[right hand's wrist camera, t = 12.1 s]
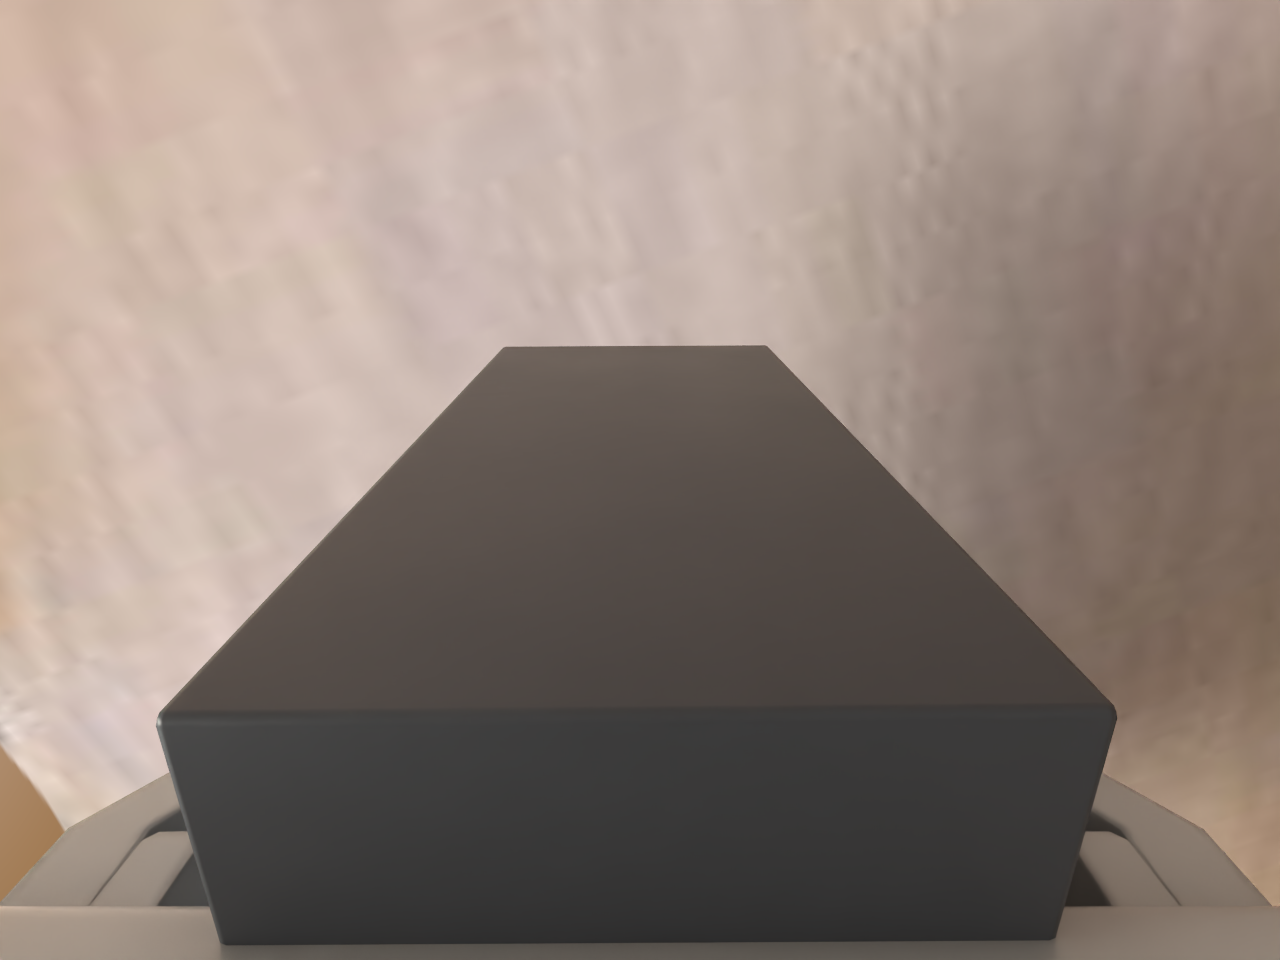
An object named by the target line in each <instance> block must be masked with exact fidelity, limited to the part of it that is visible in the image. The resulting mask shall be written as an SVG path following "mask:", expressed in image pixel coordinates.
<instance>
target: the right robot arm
mask: <svg viewBox="0 0 1280 960" xmlns="http://www.w3.org/2000/svg"><path fill="white" fill-rule="evenodd" d="M0 960H1280V906H1272V905H1271V904H1270V903H1269V902H1268V901H1267V900H1266V898H1265V897H1264V896H1263V895H1262V894H1261V893H1260V892H1259V891H1258V889H1257V888H1256V887H1255V886H1254V885H1253V884H1252V883H1251V882H1250V881H1249V879H1248V878H1247V877H1246V876H1245V875H1244V874H1243V873H1242V872H1241V871H1240V869H1239V868H1238V867H1237V866H1236V865H1235V864H1234V863H1233V862H1232V861H1231V859H1230V858H1229V857H1228V856H1227V855H1226V854H1225V853H1224V852H1223V851H1222V849H1221V848H1220V847H1219V846H1218V845H1217V844H1216V843H1215V842H1214V841H1213V839H1212V838H1211V837H1210V836H1209V835H1208V834H1207V833H1206V832H1205V830H1204V829H1202V828H1200V827H1198V826H1196V825H1195V824H1193V823H1191V822H1189V821H1188V820H1186V819H1184V818H1182V817H1180V816H1179V815H1177V814H1175V813H1173V812H1171V811H1170V810H1168V809H1166V808H1164V807H1163V806H1161V805H1159V804H1157V803H1155V802H1154V801H1152V800H1150V799H1148V798H1147V797H1145V796H1143V795H1141V794H1139V793H1138V792H1136V791H1134V790H1132V789H1130V788H1129V787H1127V786H1125V785H1123V784H1122V783H1120V782H1118V781H1116V780H1114V779H1113V778H1111V777H1109V776H1107V775H1105V774H1104V773H1102V774H1101V777H1100V781H1099V785H1098V788H1097V792H1096V795H1095V799H1094V802H1093V806H1092V810H1091V813H1090V817H1089V820H1088V824H1087V827H1086V831H1085V835H1084V838H1083V842H1082V845H1081V849H1080V852H1079V856H1078V860H1077V863H1076V867H1075V870H1074V874H1073V877H1072V881H1071V885H1070V888H1069V892H1068V895H1067V899H1066V902H1065V906H1064V909H1063V913H1062V917H1061V920H1060V924H1059V927H1058V931H1057V934H1056V938H1054V939H1052V940H1039V941H874V942H709V943H544V944H379V945H224V944H222V943H220V941H219V938H218V934H217V931H216V928H215V924H214V921H213V917H212V914H211V911H210V907H209V904H208V900H207V897H206V894H205V890H204V887H203V883H202V880H201V877H200V873H199V870H198V867H197V863H196V860H195V856H194V853H193V850H192V846H191V843H190V839H189V836H188V833H187V829H186V826H185V822H184V819H183V816H182V812H181V809H180V806H179V802H178V799H177V795H176V792H175V789H174V785H173V782H172V778H171V775H170V772H169V773H167V774H166V775H164V776H162V777H160V778H158V779H157V780H155V781H153V782H151V783H149V784H147V785H146V786H144V787H142V788H140V789H138V790H137V791H135V792H133V793H131V794H129V795H128V796H126V797H124V798H122V799H120V800H119V801H117V802H115V803H113V804H111V805H110V806H108V807H106V808H104V809H102V810H100V811H99V812H97V813H95V814H93V815H91V816H90V817H88V818H86V819H84V820H82V821H81V822H79V823H77V824H75V825H73V826H72V827H70V828H68V829H67V830H66V831H65V832H64V834H63V835H62V836H61V837H60V838H59V839H58V840H57V841H56V842H55V843H54V844H53V846H52V847H51V848H50V849H49V850H48V851H47V852H46V853H45V854H44V855H43V856H42V857H41V859H40V860H39V861H38V862H37V863H36V864H35V865H34V866H33V867H32V868H31V869H30V871H29V872H28V873H27V874H26V875H25V876H24V877H23V878H22V879H21V880H20V881H19V882H18V884H17V885H16V886H15V887H14V888H13V889H12V890H11V891H10V892H9V894H7V896H6V897H5V898H4V899H3V900H2V901H1V902H0Z"/></svg>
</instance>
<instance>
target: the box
mask: <svg viewBox="0 0 1280 960" xmlns="http://www.w3.org/2000/svg"><path fill="white" fill-rule="evenodd" d="M1116 720H1117V715H1116V710H1115V708H1114V705H1113V704H1112V703H1111V702H1110V701H1109V700H1108V699H1107V698H1106V697H1105V696H1104V695H1103V694H1102V693H1101V692H1100V691H1099V690H1098V689H1097V688H1096V687H1095V686H1094V684H1093V683H1092V682H1091V681H1090V680H1089V679H1088V678H1087V677H1086V676H1085V675H1084V674H1083V673H1082V672H1081V671H1080V670H1079V669H1078V668H1077V667H1076V666H1075V665H1074V664H1073V663H1072V662H1071V661H1070V660H1069V659H1068V658H1067V657H1066V655H1065V654H1064V653H1063V652H1062V651H1061V650H1060V649H1059V648H1058V647H1057V646H1056V645H1055V644H1054V643H1053V642H1052V641H1051V640H1050V639H1049V638H1048V637H1047V636H1046V635H1045V634H1044V633H1043V632H1042V631H1041V630H1040V629H1039V627H1038V626H1037V625H1036V624H1035V623H1034V622H1033V621H1032V620H1031V619H1030V618H1029V617H1028V616H1027V615H1026V614H1025V613H1024V612H1023V611H1022V610H1021V609H1020V608H1019V607H1018V606H1017V605H1016V604H1015V603H1014V602H1013V601H1012V600H1011V598H1010V597H1009V596H1008V595H1007V594H1006V593H1005V592H1004V591H1003V590H1002V589H1001V588H1000V587H999V586H998V585H997V584H996V583H995V582H994V581H993V580H992V579H991V578H990V577H989V576H988V575H987V574H986V573H985V572H984V570H983V569H982V568H981V567H980V566H979V565H978V564H977V563H976V562H975V561H974V560H973V559H972V558H971V557H970V556H969V555H968V554H967V553H966V552H965V551H964V550H963V549H962V548H961V547H960V546H959V545H958V544H957V543H956V541H955V540H954V539H953V538H952V537H951V536H950V535H949V534H948V533H947V532H946V531H945V530H944V529H943V528H942V527H941V526H940V525H939V524H938V523H937V522H936V521H935V520H934V519H933V518H932V517H931V516H930V515H929V513H928V512H927V511H926V510H925V509H924V508H923V507H922V506H921V505H920V504H919V503H918V502H917V501H916V500H915V499H914V498H913V497H912V496H911V495H910V494H909V493H908V492H907V491H906V490H905V489H904V488H903V487H902V486H901V484H900V483H899V482H898V481H897V480H896V479H895V478H894V477H893V476H892V475H891V474H890V473H889V472H888V471H887V470H886V469H885V468H884V467H883V466H882V465H881V464H880V463H879V462H878V461H877V460H876V459H875V458H874V456H873V455H872V454H871V453H870V452H869V451H868V450H867V449H866V448H865V447H864V446H863V445H862V444H861V443H860V442H859V441H858V440H857V439H856V438H855V437H854V436H853V435H852V434H851V433H850V432H849V431H848V430H847V429H846V427H845V426H844V425H843V424H842V423H841V422H840V421H839V420H838V419H837V418H836V417H835V416H834V415H833V414H832V413H831V412H830V411H829V410H828V409H827V408H826V407H825V406H824V405H823V404H822V403H821V402H820V401H819V400H818V398H817V397H816V396H815V395H814V394H813V393H812V392H811V391H810V390H809V389H808V388H807V387H806V386H805V385H804V384H803V383H802V382H801V381H800V380H799V379H798V378H797V377H796V376H795V375H794V374H793V373H792V372H791V370H790V369H789V368H788V367H787V366H786V365H785V364H784V363H783V362H782V361H781V360H780V359H779V358H778V357H777V356H776V355H775V354H774V353H773V352H772V351H771V350H770V349H769V348H768V347H767V346H580V347H504V348H503V349H502V350H501V351H500V352H499V353H498V354H497V355H496V356H495V357H494V358H493V359H492V360H491V361H490V362H489V363H488V365H487V366H486V367H485V368H484V369H483V370H482V371H481V372H480V373H479V374H478V375H477V376H476V377H475V378H474V379H473V380H472V382H471V383H470V384H469V385H468V386H467V387H466V388H465V389H464V390H463V391H462V392H461V393H460V394H459V395H458V396H457V397H456V399H455V400H454V401H453V402H452V403H451V404H450V405H449V406H448V407H447V408H446V409H445V410H444V411H443V412H442V413H441V414H440V416H439V417H438V418H437V419H436V420H435V421H434V422H433V423H432V424H431V425H430V426H429V427H428V428H427V429H426V430H425V431H424V432H423V434H422V435H421V436H420V437H419V438H418V439H417V440H416V441H415V442H414V443H413V444H412V445H411V446H410V447H409V448H408V449H407V451H406V452H405V453H404V454H403V455H402V456H401V457H400V458H399V459H398V460H397V461H396V462H395V463H394V464H393V465H392V466H391V468H390V469H389V470H388V471H387V472H386V473H385V474H384V475H383V476H382V477H381V478H380V479H379V480H378V481H377V482H376V483H375V485H374V486H373V487H372V488H371V489H370V490H369V491H368V492H367V493H366V494H365V495H364V496H363V497H362V498H361V499H360V500H359V501H358V503H357V504H356V505H355V506H354V507H353V508H352V509H351V510H350V511H349V512H348V513H347V514H346V515H345V516H344V517H343V518H342V520H341V521H340V522H339V523H338V524H337V525H336V526H335V527H334V528H333V529H332V530H331V531H330V532H329V533H328V534H327V535H326V537H325V538H324V539H323V540H322V541H321V542H320V543H319V544H318V545H317V546H316V547H315V548H314V549H313V550H312V551H311V552H310V553H309V555H308V556H307V557H306V558H305V559H304V560H303V561H302V562H301V563H300V564H299V565H298V566H297V567H296V568H295V569H294V570H293V572H292V573H291V574H290V575H289V576H288V577H287V578H286V579H285V580H284V581H283V582H282V583H281V584H280V585H279V586H278V587H277V589H276V590H275V591H274V592H273V593H272V594H271V595H270V596H269V597H268V598H267V599H266V600H265V601H264V602H263V603H262V604H261V606H260V607H259V608H258V609H257V610H256V611H255V612H254V613H253V614H252V615H251V616H250V617H249V618H248V619H247V620H246V621H245V622H244V624H243V625H242V626H241V627H240V628H239V629H238V630H237V631H236V632H235V633H234V634H233V635H232V636H231V637H230V638H229V639H228V641H227V642H226V643H225V644H224V645H223V646H222V647H221V648H220V649H219V650H218V651H217V652H216V653H215V654H214V655H213V656H212V658H211V659H210V660H209V661H208V662H207V663H206V664H205V665H204V666H203V667H202V668H201V669H200V670H199V671H198V672H197V673H196V674H195V676H194V677H193V678H192V679H191V680H190V681H189V682H188V683H187V684H186V685H185V686H184V687H183V688H182V689H181V690H180V691H179V693H178V694H177V695H176V696H175V697H174V698H173V699H172V700H171V701H170V702H169V703H168V704H167V705H166V706H165V707H164V708H163V710H162V711H161V712H160V713H159V715H158V718H157V723H156V728H157V731H158V734H159V738H160V741H161V744H162V748H163V751H164V755H165V758H166V761H167V765H168V768H169V772H170V775H171V778H172V782H173V785H174V789H175V792H176V795H177V799H178V802H179V806H180V809H181V812H182V816H183V819H184V822H185V826H186V829H187V833H188V836H189V839H190V843H191V846H192V850H193V853H194V856H195V860H196V863H197V867H198V870H199V873H200V877H201V880H202V883H203V887H204V890H205V894H206V897H207V900H208V904H209V907H210V911H211V914H212V917H213V921H214V924H215V928H216V931H217V934H218V938H219V941H220V943H222V944H224V945H379V944H544V943H709V942H874V941H1039V940H1052V939H1054V938H1056V934H1057V931H1058V927H1059V924H1060V920H1061V917H1062V913H1063V909H1064V906H1065V902H1066V899H1067V895H1068V892H1069V888H1070V885H1071V881H1072V877H1073V874H1074V870H1075V867H1076V863H1077V860H1078V856H1079V852H1080V849H1081V845H1082V842H1083V838H1084V835H1085V831H1086V827H1087V824H1088V820H1089V817H1090V813H1091V810H1092V806H1093V802H1094V799H1095V795H1096V792H1097V788H1098V785H1099V781H1100V777H1101V774H1102V770H1103V767H1104V763H1105V760H1106V756H1107V753H1108V749H1109V745H1110V742H1111V738H1112V735H1113V731H1114V728H1115V724H1116Z"/></svg>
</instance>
